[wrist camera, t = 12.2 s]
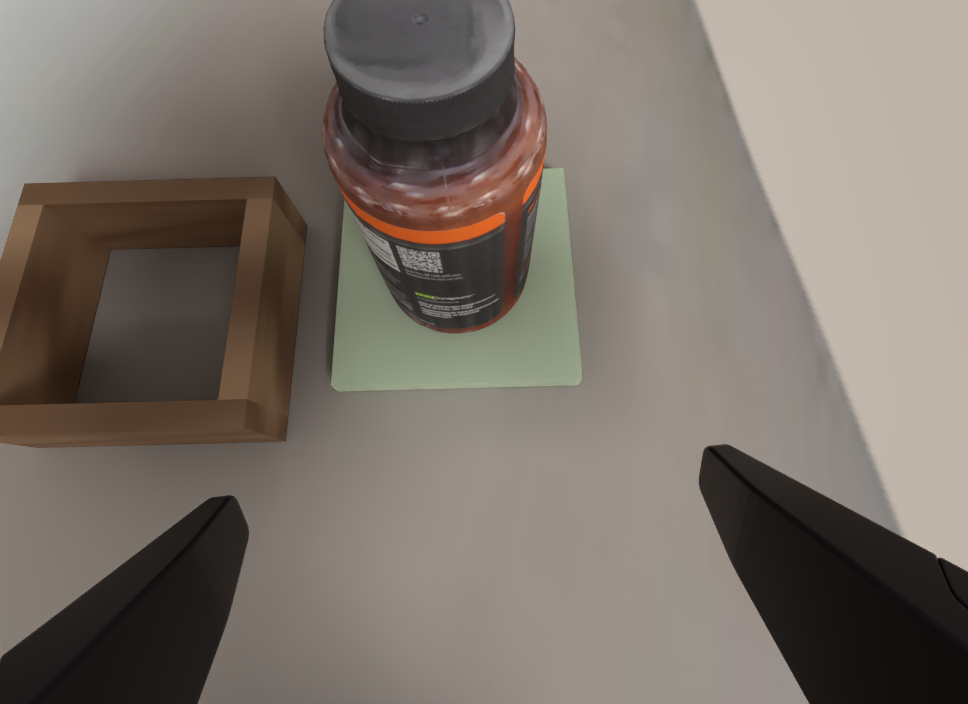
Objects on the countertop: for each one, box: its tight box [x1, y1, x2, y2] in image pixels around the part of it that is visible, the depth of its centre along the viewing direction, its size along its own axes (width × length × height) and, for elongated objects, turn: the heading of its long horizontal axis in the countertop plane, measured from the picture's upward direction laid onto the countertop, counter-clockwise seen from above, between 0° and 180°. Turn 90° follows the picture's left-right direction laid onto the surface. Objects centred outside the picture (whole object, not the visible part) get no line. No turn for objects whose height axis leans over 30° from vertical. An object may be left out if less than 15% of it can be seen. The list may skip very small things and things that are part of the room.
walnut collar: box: [0, 177, 307, 448], centre depth 19 cm, size 10×10×4 cm
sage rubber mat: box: [331, 168, 583, 392], centre depth 21 cm, size 10×10×1 cm
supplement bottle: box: [323, 0, 547, 334], centre depth 15 cm, size 6×6×11 cm
